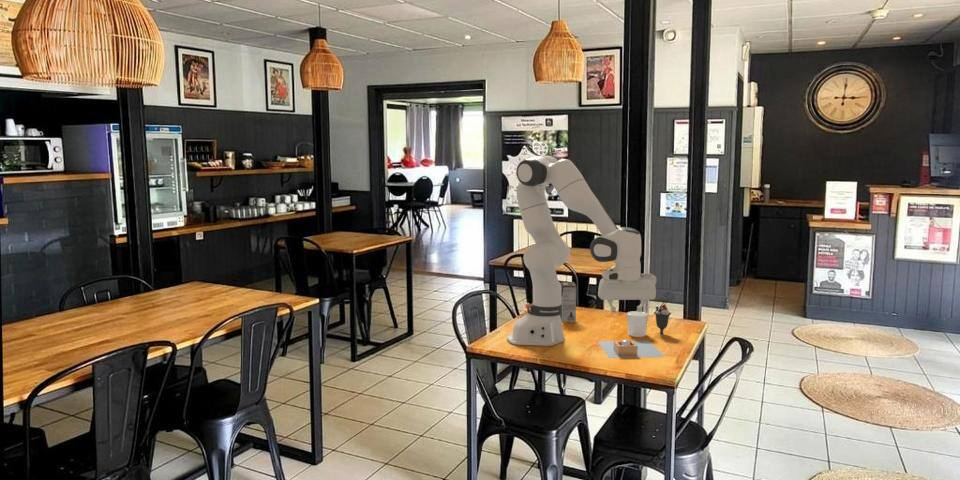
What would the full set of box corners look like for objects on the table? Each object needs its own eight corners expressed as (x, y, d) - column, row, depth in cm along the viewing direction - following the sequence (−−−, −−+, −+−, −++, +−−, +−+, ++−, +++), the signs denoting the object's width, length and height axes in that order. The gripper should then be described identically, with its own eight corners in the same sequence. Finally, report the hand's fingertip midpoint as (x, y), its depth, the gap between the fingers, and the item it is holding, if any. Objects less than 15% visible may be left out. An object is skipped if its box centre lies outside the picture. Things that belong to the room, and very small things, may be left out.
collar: (618, 356, 234) (618, 346, 234) (613, 350, 241) (613, 340, 240) (637, 355, 235) (637, 346, 234) (632, 350, 241) (632, 340, 241)
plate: (609, 361, 233) (609, 357, 232) (596, 345, 252) (596, 341, 252) (665, 360, 234) (665, 356, 233) (648, 344, 253) (648, 340, 253)
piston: (622, 354, 236) (622, 342, 236) (619, 351, 239) (620, 339, 239) (631, 354, 236) (631, 341, 236) (628, 351, 239) (629, 339, 239)
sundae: (671, 340, 259) (672, 302, 257) (653, 339, 260) (654, 302, 258) (669, 335, 265) (671, 299, 263) (652, 335, 267) (653, 298, 265)
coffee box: (559, 316, 297) (559, 281, 294) (573, 316, 296) (574, 281, 294) (561, 322, 287) (562, 285, 285) (576, 322, 287) (577, 285, 285)
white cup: (622, 336, 264) (623, 312, 263) (638, 334, 267) (639, 310, 266) (634, 341, 257) (635, 316, 256) (651, 339, 260) (651, 314, 259)
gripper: (653, 271, 238) (652, 309, 239) (597, 271, 237) (596, 309, 239) (659, 275, 231) (657, 313, 233) (601, 275, 230) (600, 313, 232)
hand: (626, 311), depth 236 cm, fingers open, 8 cm apart
